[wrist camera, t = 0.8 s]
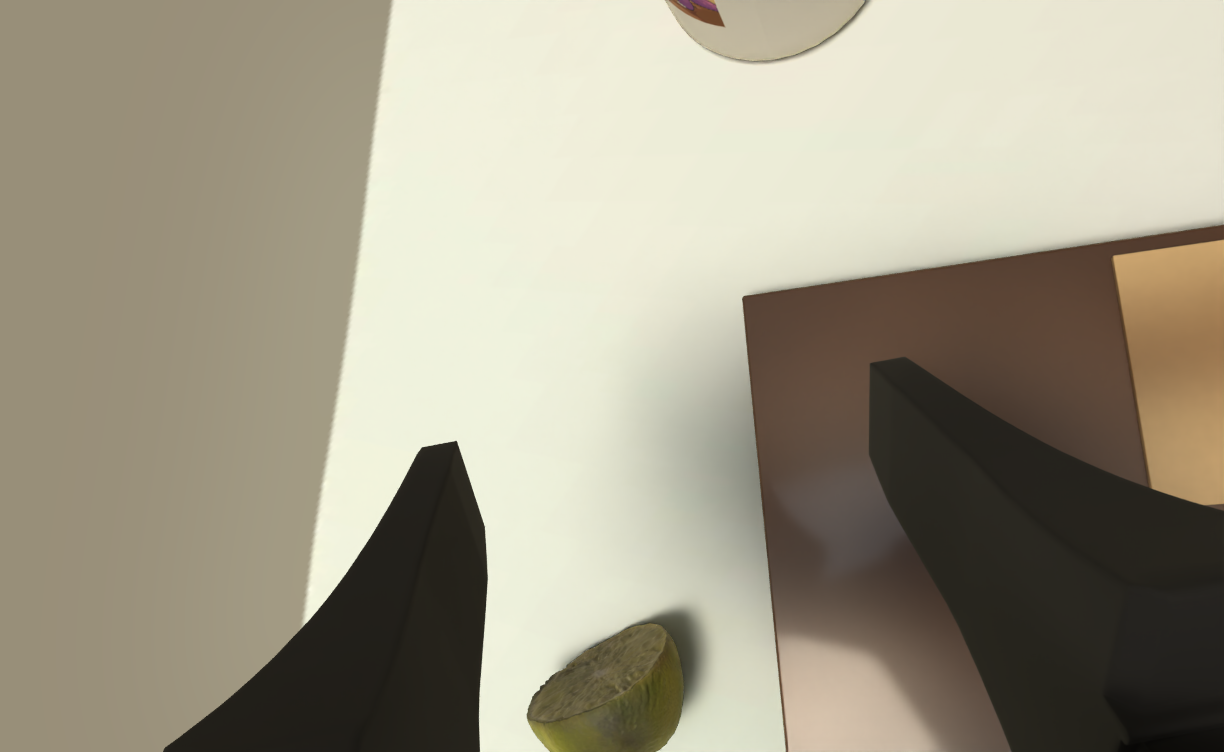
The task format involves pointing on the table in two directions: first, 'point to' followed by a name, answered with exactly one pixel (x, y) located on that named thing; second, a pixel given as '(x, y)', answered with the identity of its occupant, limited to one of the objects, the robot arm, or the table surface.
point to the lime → (613, 696)
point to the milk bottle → (762, 24)
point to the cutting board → (1002, 384)
